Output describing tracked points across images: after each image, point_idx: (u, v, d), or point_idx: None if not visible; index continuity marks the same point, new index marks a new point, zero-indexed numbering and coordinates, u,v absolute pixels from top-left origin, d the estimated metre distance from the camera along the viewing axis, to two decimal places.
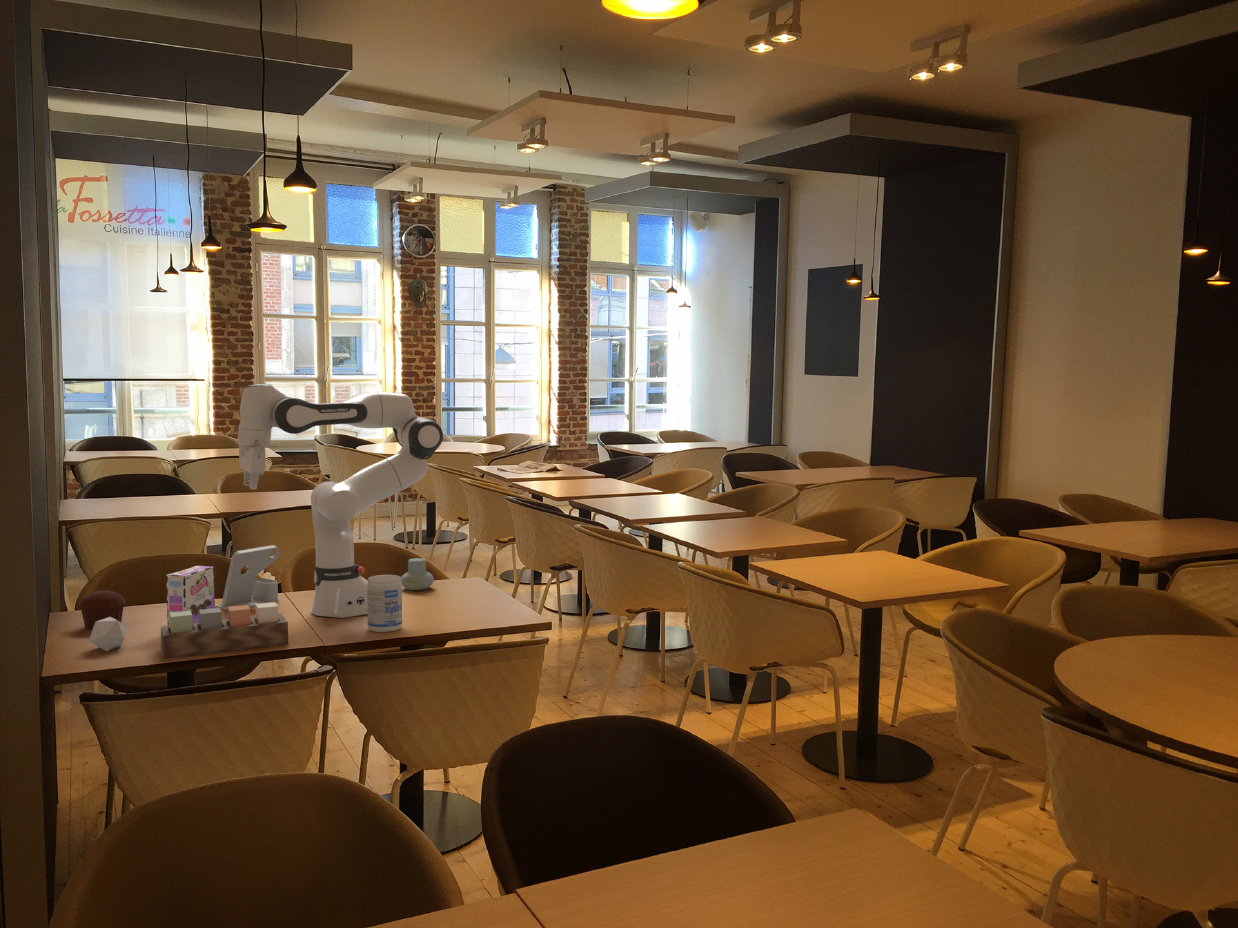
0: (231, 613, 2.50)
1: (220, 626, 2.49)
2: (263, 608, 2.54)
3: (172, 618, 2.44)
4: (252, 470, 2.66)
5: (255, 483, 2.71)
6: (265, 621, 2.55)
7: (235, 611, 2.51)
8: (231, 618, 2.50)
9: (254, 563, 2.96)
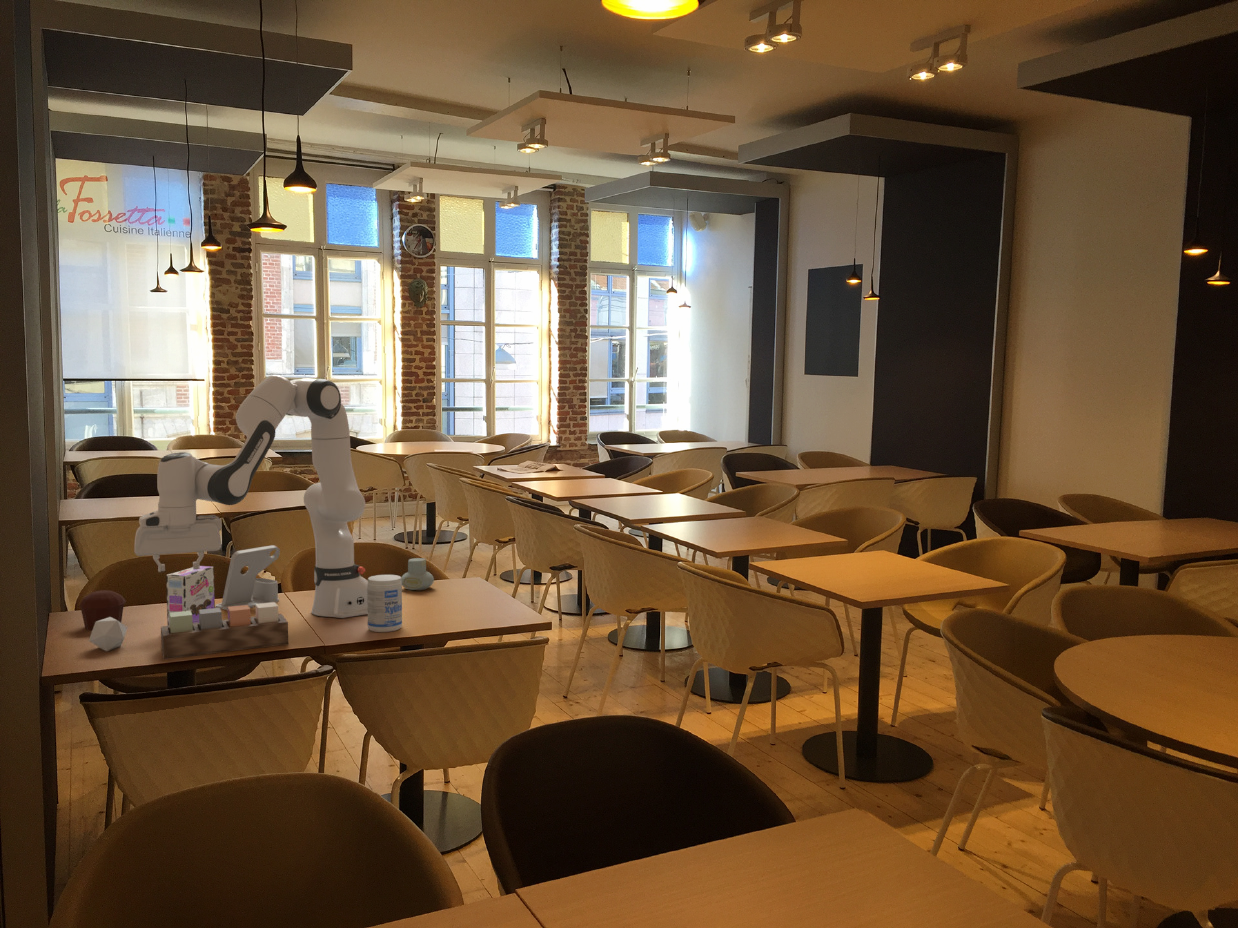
0: (231, 613, 2.50)
1: (220, 626, 2.49)
2: (263, 608, 2.54)
3: (172, 618, 2.44)
4: (220, 545, 2.49)
5: None
6: (265, 621, 2.55)
7: (235, 611, 2.51)
8: (231, 618, 2.50)
9: (254, 563, 2.96)
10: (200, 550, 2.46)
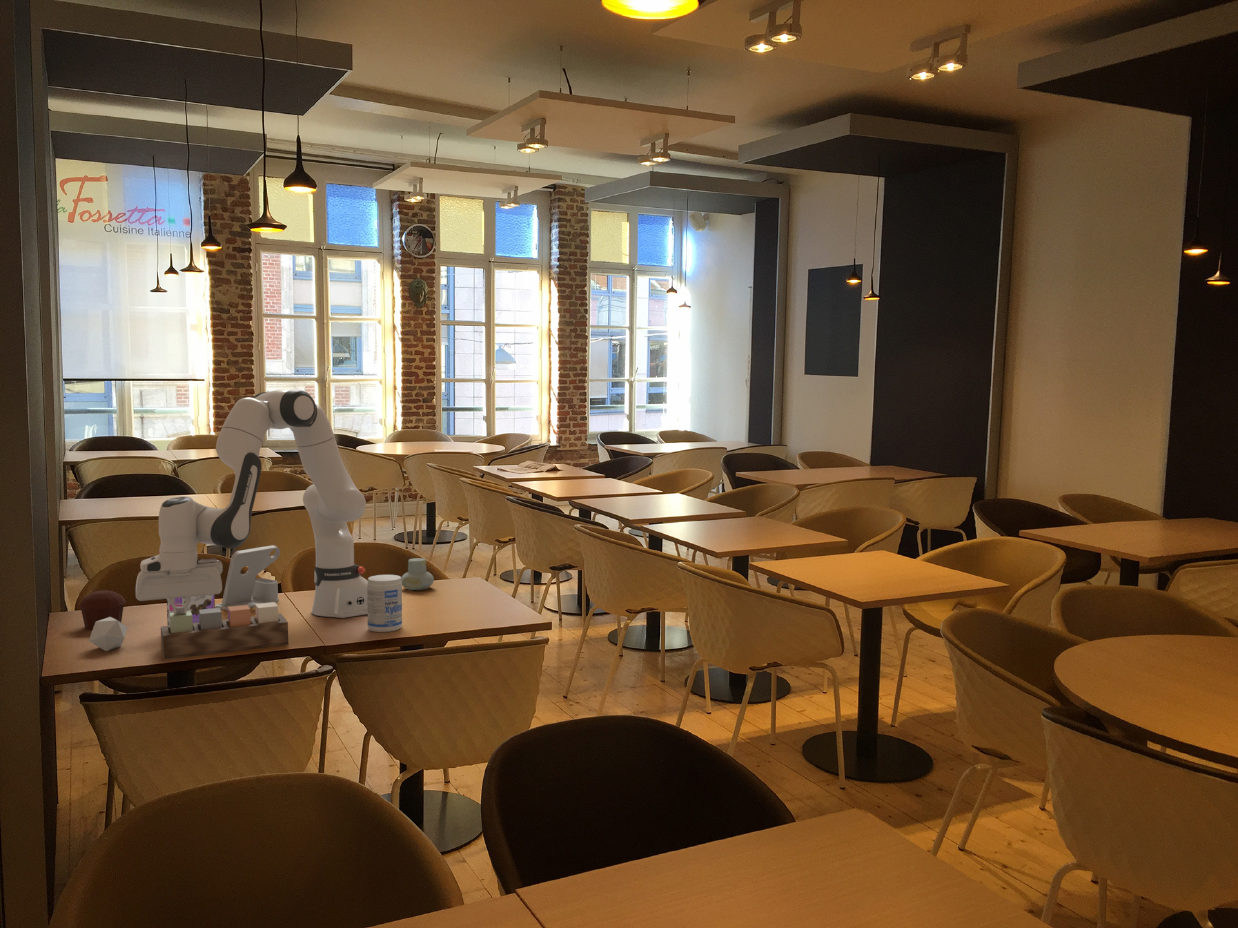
0: (231, 613, 2.50)
1: (220, 626, 2.49)
2: (263, 608, 2.54)
3: (172, 618, 2.44)
4: (221, 589, 2.50)
5: None
6: (265, 621, 2.55)
7: (235, 611, 2.51)
8: (231, 618, 2.50)
9: (254, 563, 2.96)
10: (201, 594, 2.47)
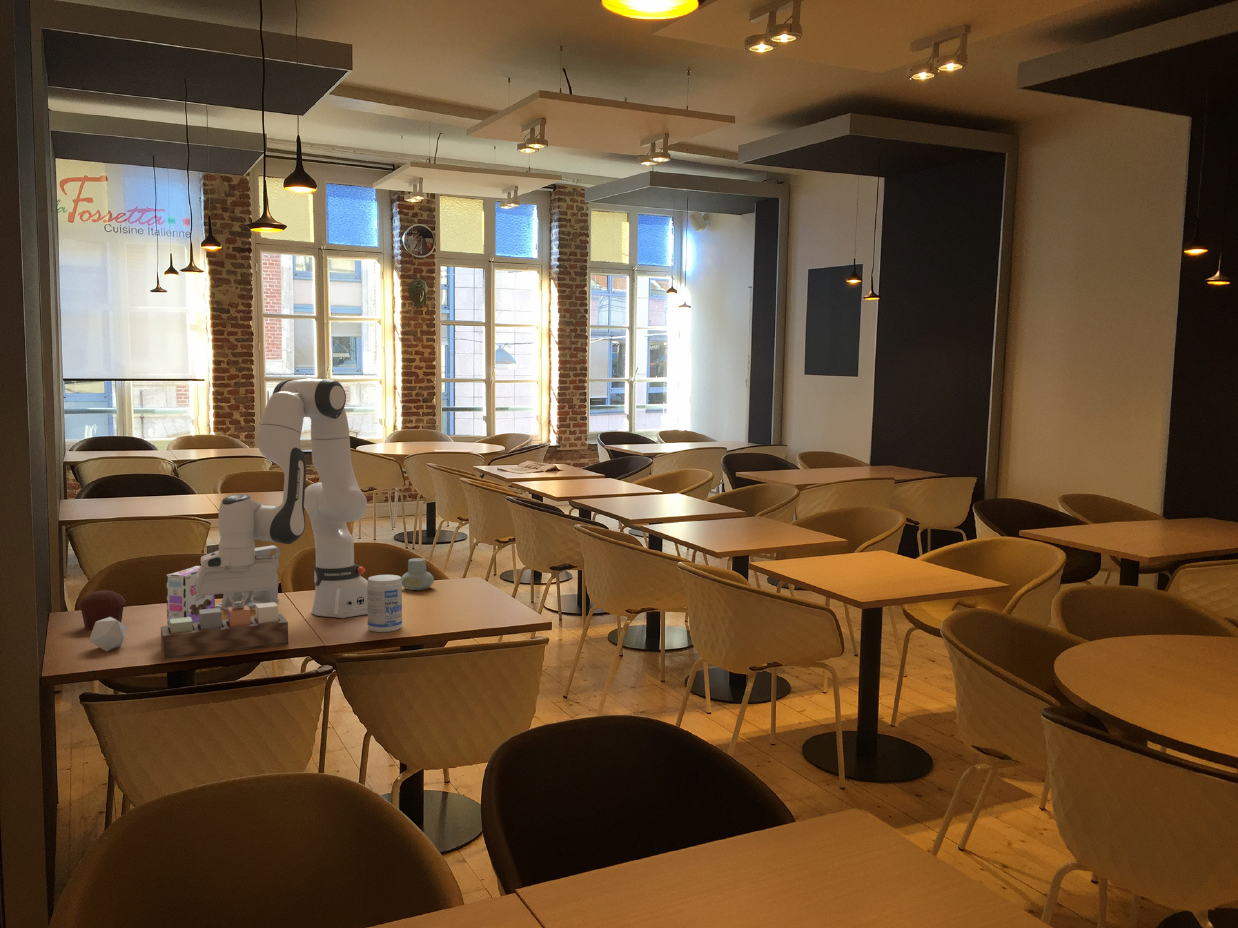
0: (231, 614, 2.50)
1: (220, 626, 2.49)
2: (263, 608, 2.54)
3: (172, 624, 2.44)
4: None
5: None
6: (265, 621, 2.55)
7: (235, 612, 2.51)
8: (231, 619, 2.50)
9: None
10: (258, 589, 2.54)
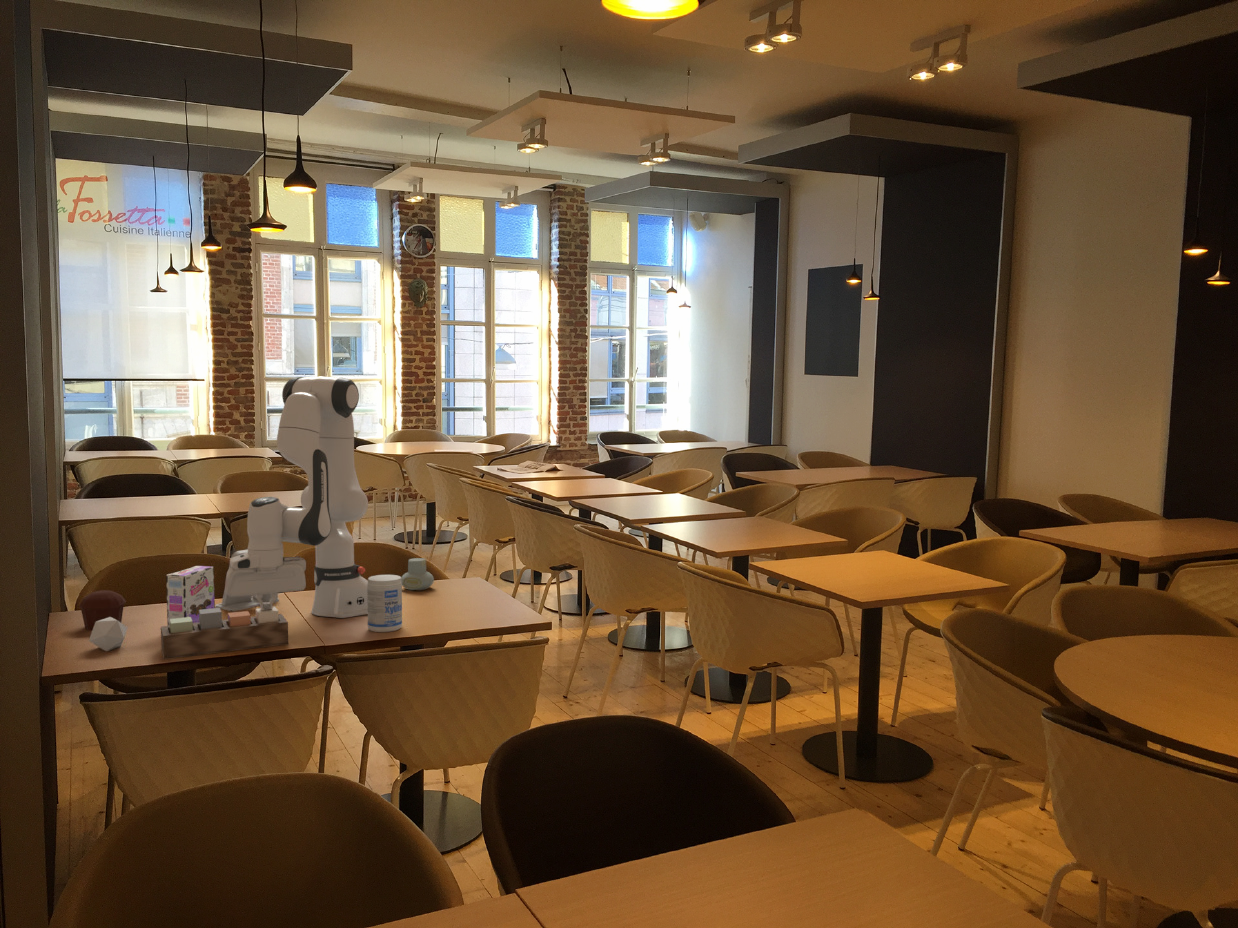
0: (231, 619, 2.50)
1: (220, 626, 2.49)
2: (263, 613, 2.54)
3: (172, 624, 2.44)
4: (305, 586, 2.60)
5: None
6: None
7: (235, 617, 2.51)
8: (231, 624, 2.51)
9: None
10: (286, 590, 2.57)
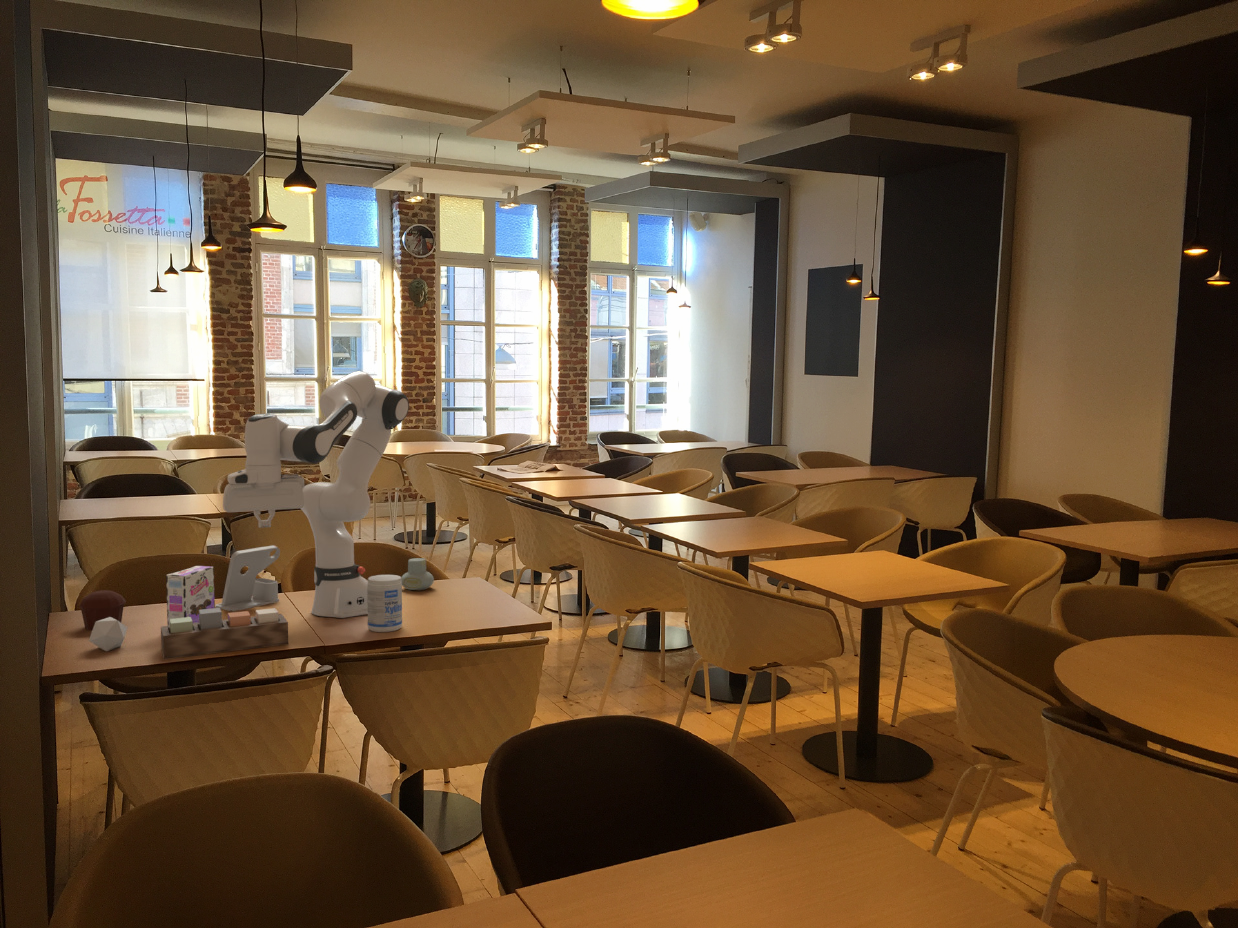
0: (231, 619, 2.50)
1: (220, 626, 2.49)
2: (263, 614, 2.54)
3: (172, 624, 2.44)
4: (303, 503, 2.58)
5: None
6: None
7: (235, 617, 2.51)
8: (231, 624, 2.51)
9: (254, 563, 2.96)
10: (285, 508, 2.55)
